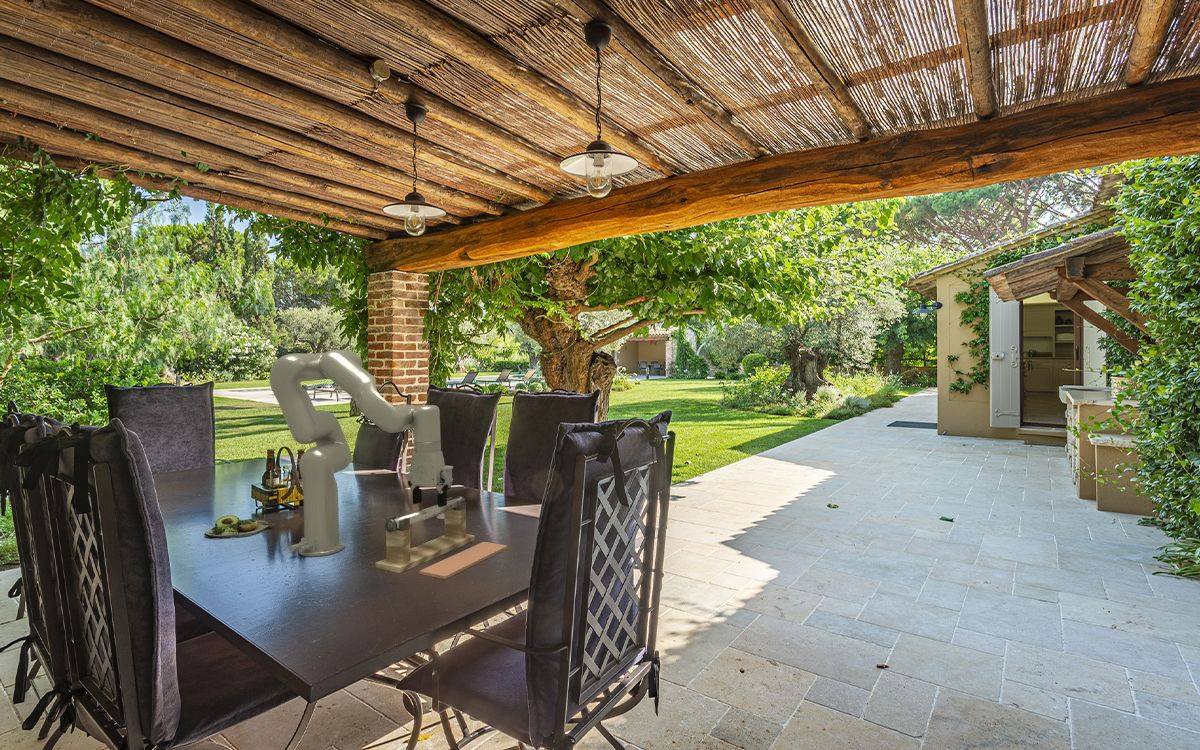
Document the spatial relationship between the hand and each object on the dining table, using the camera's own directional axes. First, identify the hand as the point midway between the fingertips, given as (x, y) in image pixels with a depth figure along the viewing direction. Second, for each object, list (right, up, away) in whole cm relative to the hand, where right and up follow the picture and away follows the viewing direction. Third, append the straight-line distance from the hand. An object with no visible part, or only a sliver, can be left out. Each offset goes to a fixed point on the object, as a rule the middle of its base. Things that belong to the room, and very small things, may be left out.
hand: (429, 504), depth 178 cm
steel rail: (-1, -3, 0) cm, 3 cm away
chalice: (-6, -13, +40) cm, 43 cm away
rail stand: (-1, -15, +1) cm, 15 cm away
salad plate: (-72, -15, +24) cm, 77 cm away
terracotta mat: (+12, -15, -6) cm, 20 cm away
